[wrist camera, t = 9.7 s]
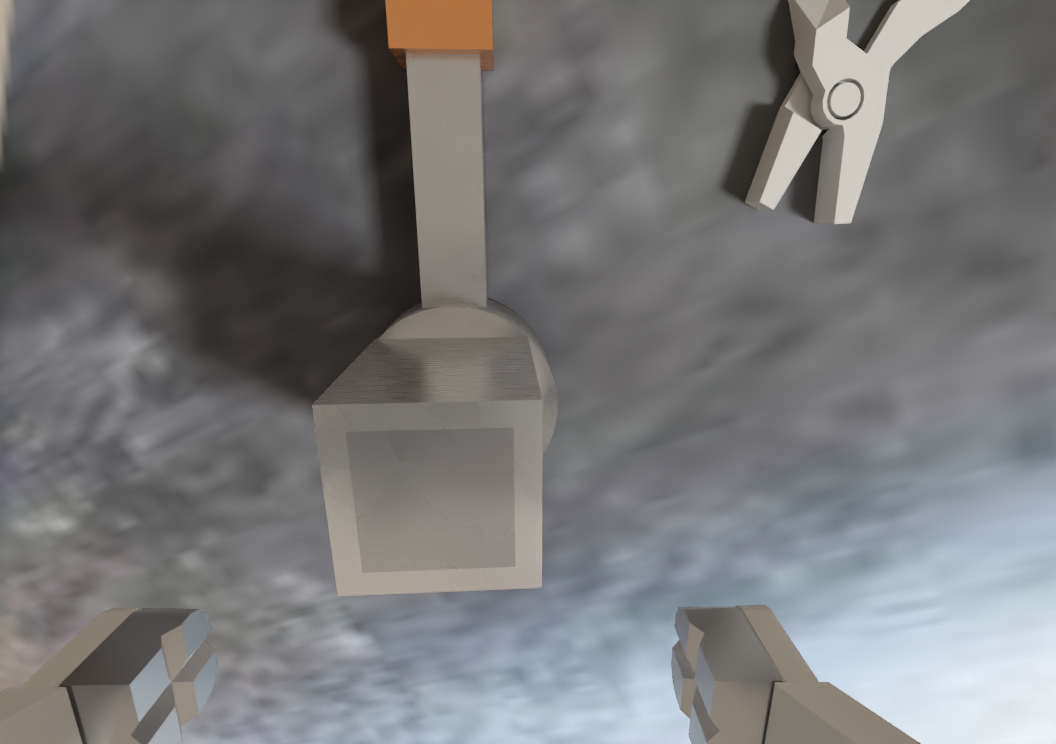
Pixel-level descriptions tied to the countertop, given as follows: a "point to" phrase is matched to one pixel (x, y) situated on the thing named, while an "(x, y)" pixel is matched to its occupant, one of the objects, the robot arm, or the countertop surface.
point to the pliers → (837, 100)
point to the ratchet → (453, 178)
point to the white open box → (434, 466)
